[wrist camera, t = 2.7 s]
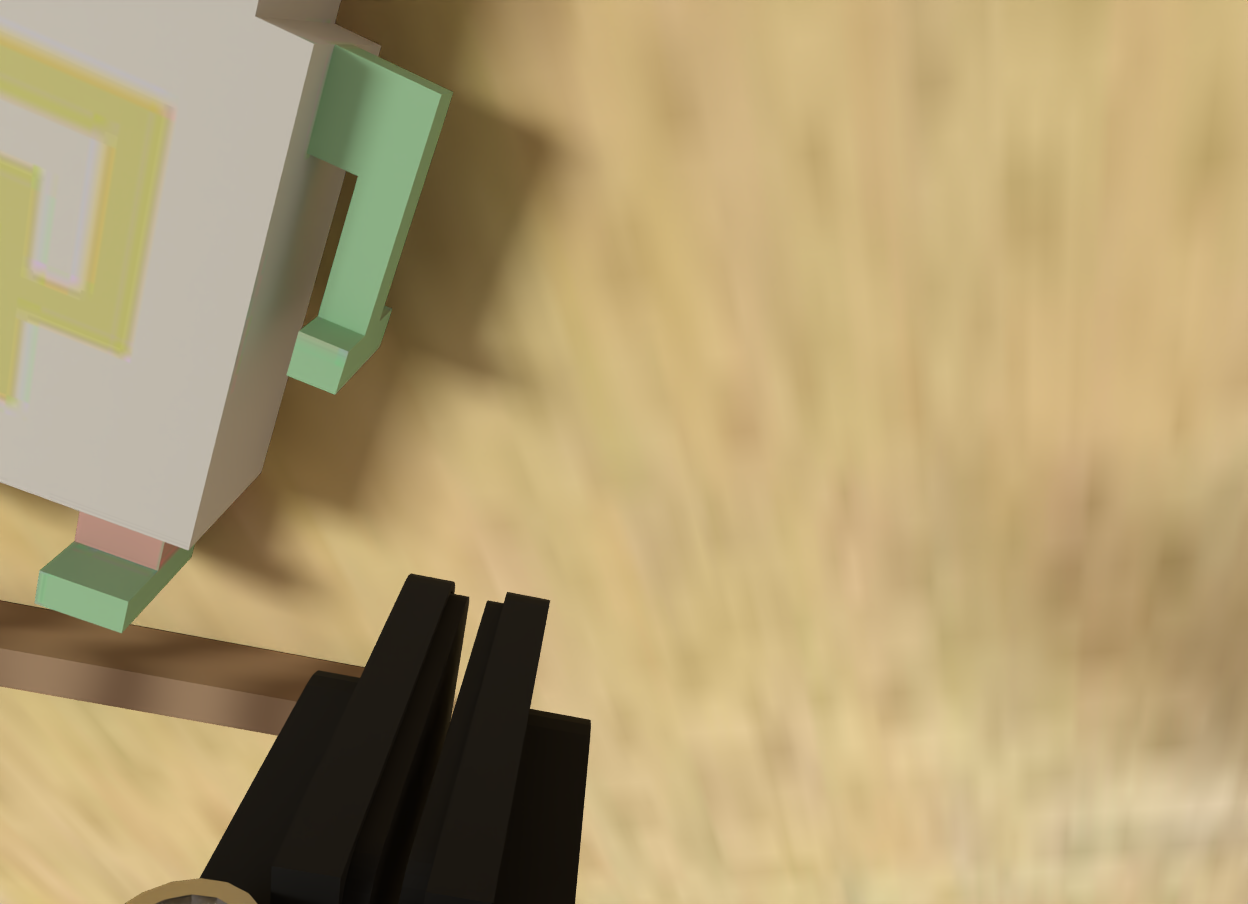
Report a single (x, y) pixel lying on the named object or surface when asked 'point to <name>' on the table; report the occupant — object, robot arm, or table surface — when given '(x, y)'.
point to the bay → (153, 670)
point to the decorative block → (183, 257)
